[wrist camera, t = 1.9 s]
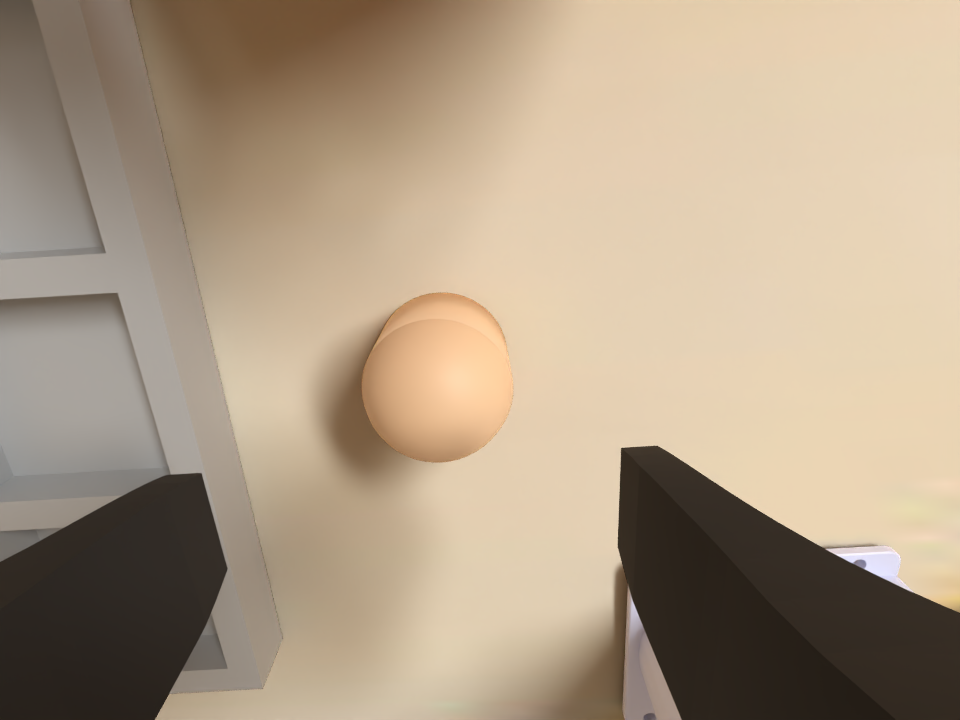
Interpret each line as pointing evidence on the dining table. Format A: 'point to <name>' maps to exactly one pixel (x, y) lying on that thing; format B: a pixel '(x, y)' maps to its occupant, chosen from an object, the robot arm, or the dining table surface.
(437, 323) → the egg
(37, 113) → the grey compartment tray
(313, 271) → the dining table surface
